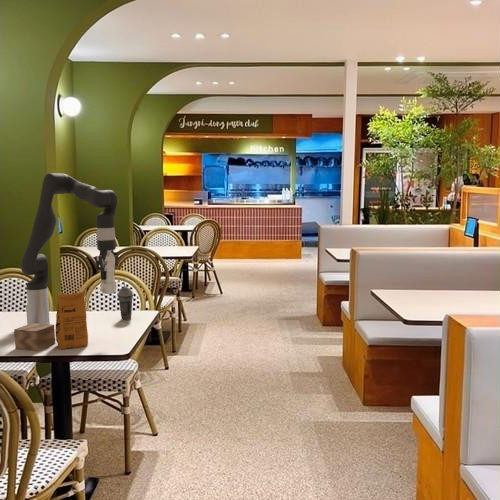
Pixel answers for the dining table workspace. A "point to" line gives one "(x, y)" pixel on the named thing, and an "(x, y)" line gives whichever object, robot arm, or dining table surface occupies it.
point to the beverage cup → (125, 302)
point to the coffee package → (71, 321)
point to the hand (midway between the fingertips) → (107, 278)
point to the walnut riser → (34, 336)
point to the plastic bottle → (109, 275)
